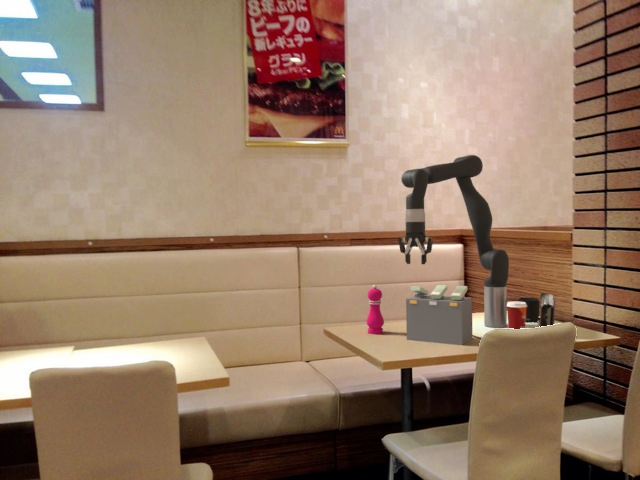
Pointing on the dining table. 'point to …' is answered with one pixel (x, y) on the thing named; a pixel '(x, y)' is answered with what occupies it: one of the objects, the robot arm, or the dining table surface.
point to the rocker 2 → (438, 291)
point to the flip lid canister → (516, 314)
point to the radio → (546, 310)
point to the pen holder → (531, 308)
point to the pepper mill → (375, 312)
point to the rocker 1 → (419, 290)
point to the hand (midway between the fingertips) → (415, 263)
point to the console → (439, 319)
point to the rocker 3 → (458, 292)
